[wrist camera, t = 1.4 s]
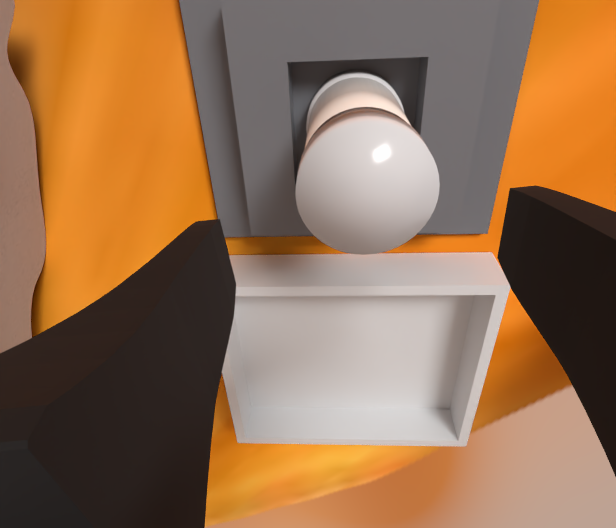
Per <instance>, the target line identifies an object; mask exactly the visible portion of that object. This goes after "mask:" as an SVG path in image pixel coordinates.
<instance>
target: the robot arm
mask: <svg viewBox="0 0 616 528" xmlns="http://www.w3.org/2000/svg"><path fill="white" fill-rule="evenodd" d="M498 260H499V262H500V265H501V267H502V269H503V272H504V274H505V276H506V278H507V281H508V283H509V285H510V287H511V289H512V291H513V292H514V294H515V295H516V297H517V298H518V300H519V302H520V303H521V305H522V306H523V308H524V309H525V311H526V312H527V314H528V315H529V317H530V318H531V320H532V321H533V323H534V324H535V326H536V327H537V329H538V330H539V332H540V333H541V335H542V336H543V338H544V339H545V341H546V342H547V344H548V345H549V347H550V348H551V350H552V351H553V353H554V354H555V356H556V357H557V359H558V360H559V362H560V364H561V365H562V367H563V369H564V370H565V372H566V374H567V375H568V377H569V379H570V381H571V383H572V385H573V387H574V389H575V391H576V393H577V395H578V397H579V399H580V401H581V403H582V405H583V406H584V409H585V410H586V412H587V415H588V417H589V419H590V421H591V423H592V425H593V427H594V429H595V431H596V434H597V436H598V438H599V440H600V442H601V444H602V446H603V449H604V451H605V453H606V455H607V457H608V460H609V462H610V464H611V467H612V469H613V471H614V474H615V476H616V212H614V211H611V210H608V209H606V208H603V207H600V206H597V205H595V204H592V203H589V202H586V201H583V200H581V199H578V198H575V197H572V196H570V195H567V194H564V193H561V192H558V191H555V190H551V189H548V188H544V187H539V186H528V187H518V188H510V191H509V197H508V202H507V208H506V213H505V219H504V224H503V230H502V236H501V241H500V247H499V252H498ZM235 296H236V281H235V277H234V273H233V269H232V265H231V261H230V257H229V253H228V249H227V245H226V241H225V238H224V234H223V230H222V226H221V222H220V219H217V220H207V221H198V222H195V223H193V224H192V225H191V226H189V227H188V228H187V229H186V230H185V231H183V232H182V233H181V234H180V235H179V236H178V237H176V238H175V239H174V240H173V241H172V242H171V243H170V244H169V245H167V246H166V247H165V248H164V249H163V250H162V251H160V252H159V253H158V254H157V255H156V256H155V257H154V258H152V259H151V260H150V261H149V262H148V263H146V264H145V265H144V266H143V267H141V268H140V269H139V270H138V271H136V272H135V273H134V274H132V275H131V276H130V277H129V278H127V279H126V280H125V281H124V282H122V283H121V284H120V285H118V286H117V287H116V288H114V289H113V290H111V291H110V292H109V293H107V294H106V295H104V296H103V297H101V298H100V299H98V300H97V301H95V302H94V303H92V304H90V305H89V306H87V307H86V308H84V309H83V310H81V311H79V312H78V313H76V314H74V315H73V316H71V317H69V318H67V319H65V320H64V321H62V322H60V323H58V324H56V325H55V326H53V327H51V328H49V329H47V330H46V331H44V332H42V333H40V334H38V335H37V336H35V337H33V338H31V339H29V340H27V341H25V342H23V343H21V344H19V345H17V346H14V347H12V348H10V349H8V350H6V351H4V352H2V353H0V528H204V526H205V511H206V497H207V482H208V471H209V460H210V448H211V438H212V429H213V420H214V410H215V403H216V397H217V392H218V387H219V382H220V378H221V373H222V369H223V364H224V360H225V355H226V351H227V346H228V342H229V337H230V333H231V328H232V323H233V318H234V310H235Z"/></svg>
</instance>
